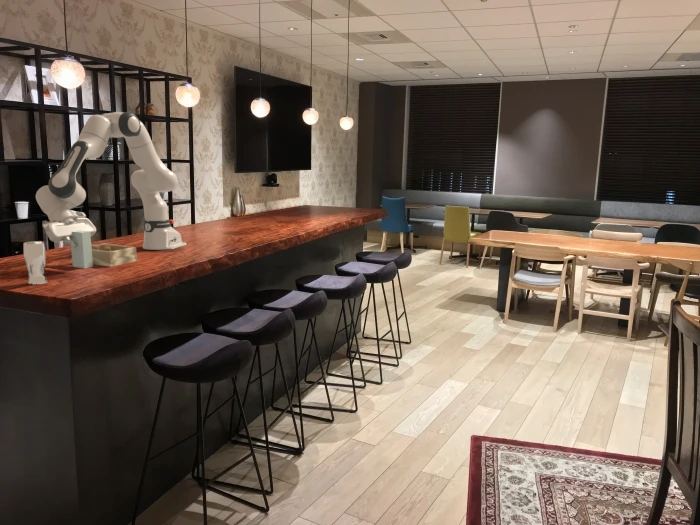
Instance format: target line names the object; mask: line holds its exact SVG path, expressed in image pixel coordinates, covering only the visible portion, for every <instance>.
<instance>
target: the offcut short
mask: <svg viewBox="0 0 700 525" xmlns="http://www.w3.org/2000/svg"><path fill="white" fill-rule="evenodd" d="M110 244H111V243H105V242H102V243H96V244H91V247H92V249H93V250H101V251H111V248H110Z"/></svg>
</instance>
